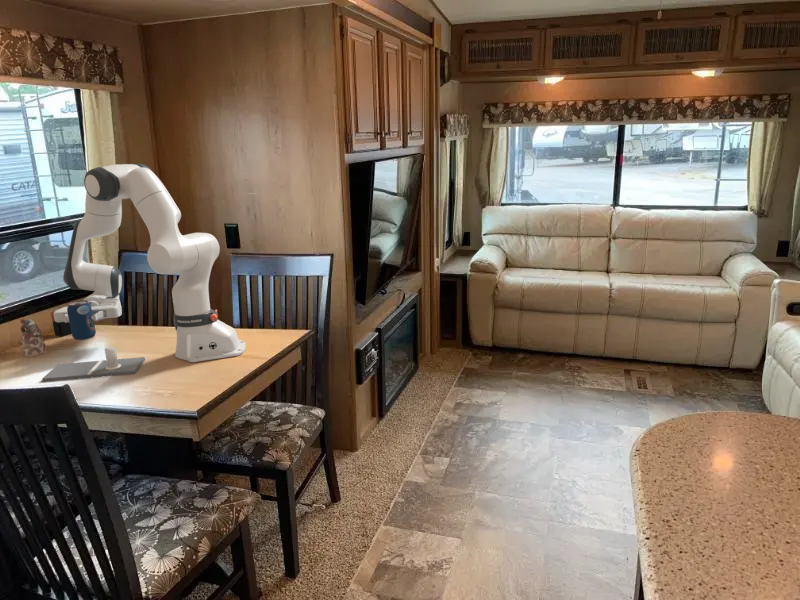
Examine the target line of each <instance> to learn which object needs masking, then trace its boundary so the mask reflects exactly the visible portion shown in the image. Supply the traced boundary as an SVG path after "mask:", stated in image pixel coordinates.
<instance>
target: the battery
mask: <svg viewBox="0 0 800 600" xmlns="http://www.w3.org/2000/svg"><path fill="white" fill-rule="evenodd" d="M64 307H68V305H67V306H64ZM64 307H63V306H62V308H64ZM59 309H60V308H58V309H57V308H56V309H54V311H50V316H51V321H52V322H51V323H52V326H53V332H54V335H55V336H57V337H62V336H63V337H66V336H69V335H72V333H71V328H70V322H68V323H65V322H56V321H55V319H54V312H55V311H57V310H59ZM65 335H66V336H65Z"/></svg>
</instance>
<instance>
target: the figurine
mask: <svg viewBox="0 0 800 600" xmlns="http://www.w3.org/2000/svg"><path fill="white" fill-rule="evenodd" d="M20 323H21V324H22V325H21V326H20V333H22V335H21V342H20V345H21V347H20V348H21V353H22V355H23V356H24V355H25V356H24V357H33V356H34V355H35V356H39V355H38V354H40V355H43V354H45V353H46V352H47V351H46V350H48V348H47V345H46V343H45V340H44V338H43V334H42V329H40V327H39V326H38V324H37V322H36V321H35V320H34V319H33V318H32V319H31V318H28V319H26V320H25V319H24V318H21V319H20ZM42 353H43V354H42ZM35 356H34V357H35Z"/></svg>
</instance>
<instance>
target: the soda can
mask: <svg viewBox="0 0 800 600" xmlns="http://www.w3.org/2000/svg"><path fill="white" fill-rule="evenodd" d="M67 306H68V308H67V312H68V317H69V322H70V328H71V333H72V334H71V336H72V338H73V339H74V340H75V341H85V340H86V341H87V340H90V339H93V338H95V335H96V332H97V331H96V326H95V321H94V320H92V318H91V315H92V309H91V305H90V304H89V303H88V301H86V300H84V299H81V300H76V301H71V302H68V303H67Z"/></svg>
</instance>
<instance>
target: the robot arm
mask: <svg viewBox="0 0 800 600" xmlns="http://www.w3.org/2000/svg"><path fill="white" fill-rule="evenodd" d="M83 185H84V188H85V191H86V194H85V204H84V205H85V209H84V215H83V217H82V218H81V219H79V220H77V221H76V223H75V225H74V227H73V230H72V234H71V238H70V239H71V240H70V243H69V244H70V245H69V250H68V255H67V260H66V264H65V267H64V270H63V276H62V277H63V279H62V280H63V282H64V283H65V285H66V286H67V287H68V288H70V289H71V290H82V291H83V290H84V291H93V292H92V294H90V295H88V296H87V297H85V298H84V299H83V300H86V301H88V303H89V304H90V305H91V309H92V315H91V318H92V320H94V322H99V321H102V320H105V319H112V318H113V319H114V318H119V317H120V316H122V315H123V313H122V311H123V309H122V304H121V300H120V294H121V293H122V291H123V285H124V284H123V283H124V277H123V275H122V272H121V271H120V270H119V268H118V267H116V266H115V265H114V266H113V265H107V264H101V263H100V264H99V263H93V262H87V261H85V260H84V253H85V249H86V248H85V247H86V242H87V241H88V240H92V239H95V238H96V239H97V238H101V237H105V236H109V235H111V234H113V233H115V232H116V231H117V230H118V229H119V228H120V227H121V224H122V216H123V206H122V201H123V200H128V199H130V201H131V202H132V204H133V205H134V208H135V209H136V210H137V212H138V214H139V215H140V217H141V219H142V220H143V222H144V225H145V226H146V228H147V230H148V234H149V236H150V246H149V247H148V250H147V254H146V260H147V263H148V264H149V267H150V268H151V270H153V271H154V272H155V273H157V275H158V274H159V275H175V274H179V277H178V279H177V281H176V283H175V284H174V285H173V287H172V288H171V294H172V295H171V296H172V303H173V310H174V313H173V325H174V329H175V332H176V346H175V354H174V356H175V358H177V359H179V360H185V361H187V362H190V363H196V362H198V363H199V362H204V361H210V360H216V359H217V360H218V359H223V358H232V357H238V356H240V355H241V354H243V353H245V351H246V348H247V345H246V344H247V343H246V341H244V340H243V339H239V337H238V333H237V331H236V329H235V328H233V327H232V326H230V325H228V324H226V323H225V322H223V321H221V320H220V319H219V314H218V309H215V310H214V309H213V308H211V304H210V292H209V291H210V290H209V282H210V277H211V272H212V268H213V266H214V263H215V261H216V260H217V259H218V257H219V256H220V250H221V249H220V247H221V246H220V244H219V241H218V240H217V238H216V237H215V236H214V235H213V234H211V233H208V232H192V233H187V234H184V235H183V234H182V233H181V232H180V229H179V225H178V224H179V222H180V220H181V218H182V213H181V212H182V211H181V210H180V209H179V207H178V205H177V204H176V202H175V201H174V199H173V197H172V195H171V194H170V193H169V191H168V189H167V188H166V186H165V185H164V183H163V182H162V180H161V179H160V178H159V177H158V176H157V175H156V174H155V173H154V172H153V171H152V169H151V168H150V167H149V166H148V165H146V164H144V163H143V164H142V163H137V162H136V163H134V162H133V163H130V164H129V163H128V164H127V163H120V164H119V163H117V164H111V165H110V164H109V165H105V166H98V167H94V168H92V169H90V170H88V171H86V173H85V175H84V179H83ZM67 308H68V307H66V306H64V308H63V307H61V308H58V309H59V310H57V311H55V310H54V311H55V312H54V319H55V321H56V322H65V323H68V322H69V317H68V312H67Z"/></svg>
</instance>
